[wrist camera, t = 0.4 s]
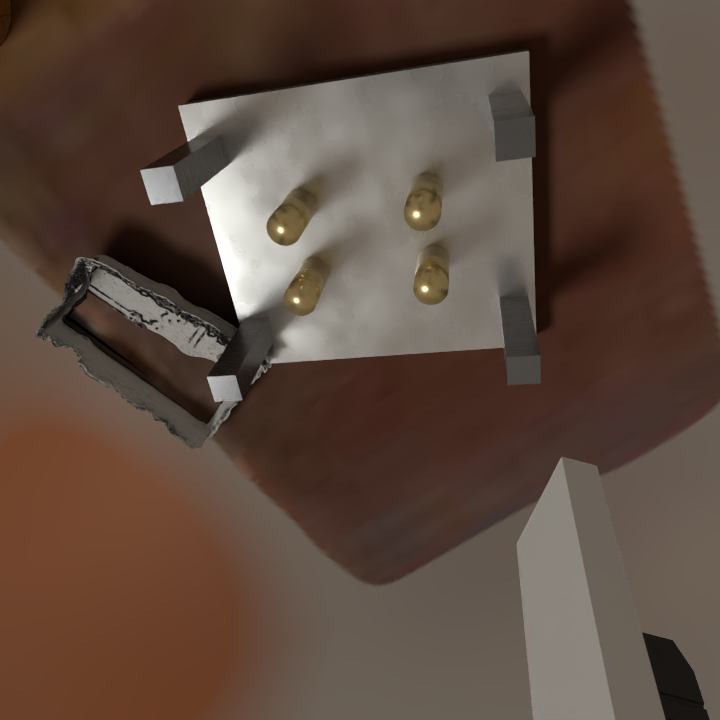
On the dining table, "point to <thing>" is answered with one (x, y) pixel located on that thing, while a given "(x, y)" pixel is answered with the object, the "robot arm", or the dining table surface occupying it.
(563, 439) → the dining table surface
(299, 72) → the dining table surface
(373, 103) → the chassis
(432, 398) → the dining table surface
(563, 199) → the dining table surface
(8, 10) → the disposable coffee cup
